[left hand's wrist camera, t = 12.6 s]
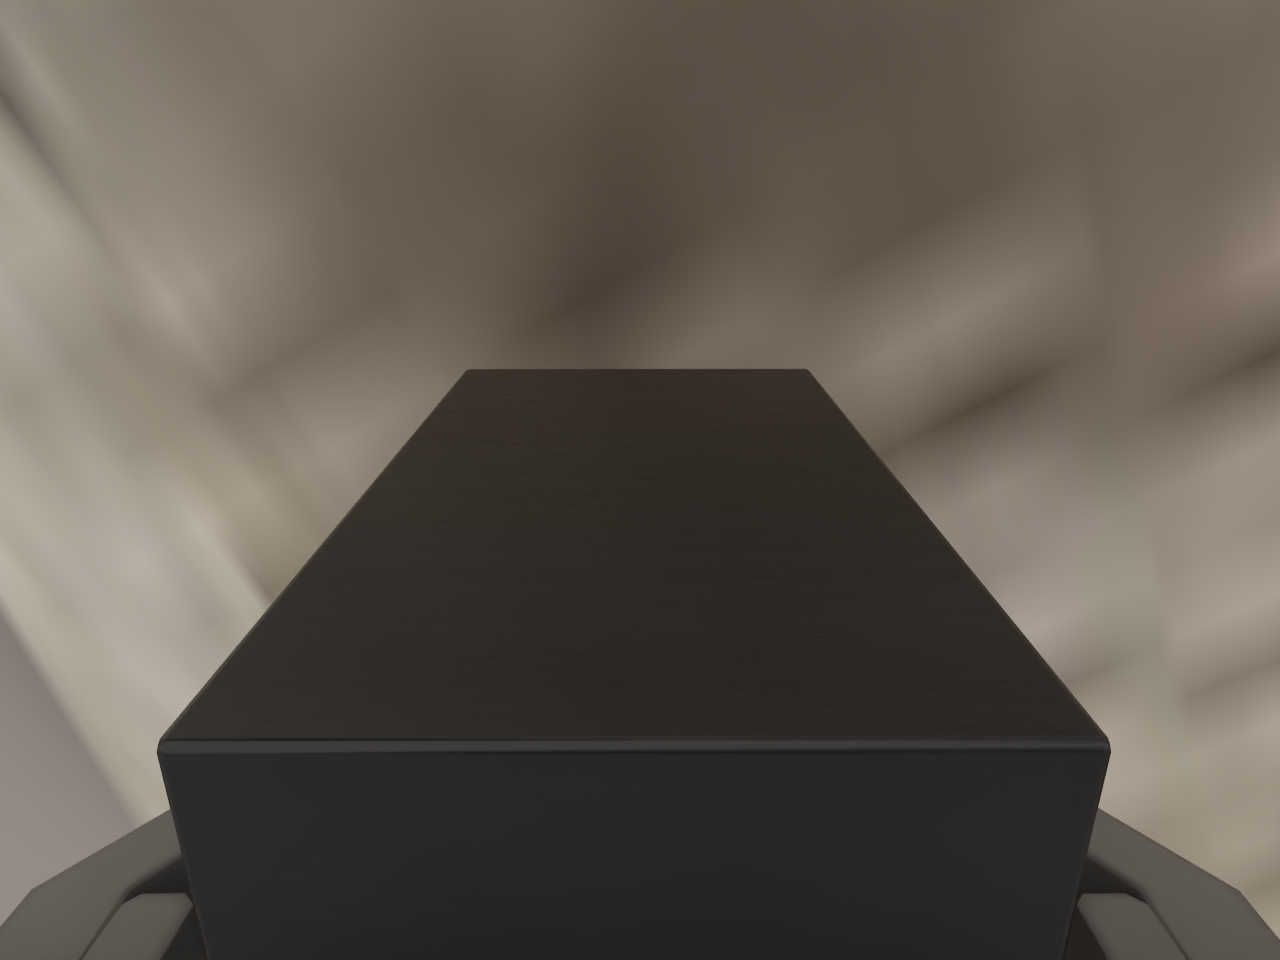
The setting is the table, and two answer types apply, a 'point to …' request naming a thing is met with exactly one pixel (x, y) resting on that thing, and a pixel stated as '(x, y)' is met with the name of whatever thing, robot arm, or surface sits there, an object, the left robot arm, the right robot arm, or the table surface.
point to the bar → (635, 703)
